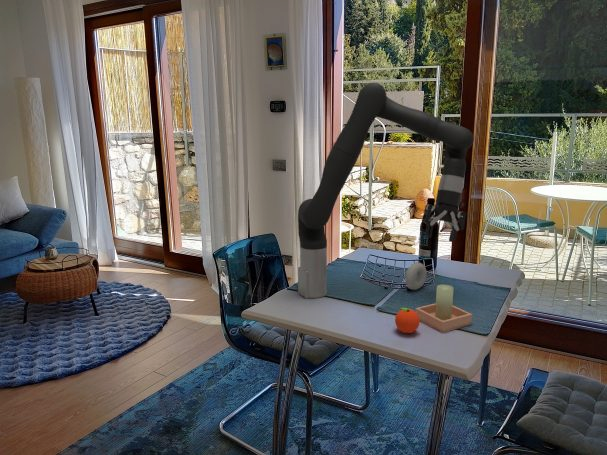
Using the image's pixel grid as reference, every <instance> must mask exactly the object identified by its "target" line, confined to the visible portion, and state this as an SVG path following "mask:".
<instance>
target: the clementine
mask: <svg viewBox="0 0 607 455" xmlns="http://www.w3.org/2000/svg"><path fill="white" fill-rule="evenodd" d="M399 309H401V310H396V311H395V312H396V315H395V317H394V318H395V319H394V322H395V323H394V324H395V326H396V328H397V329H398V330H399V332H401V333H404V334H411V333H414V332H416V331H417V329H419V326H420V323H421V321H420V319H419V316H418V314H417V313H416V312H415V310H413V309H411V308H407V307H400V308H399Z"/></svg>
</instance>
